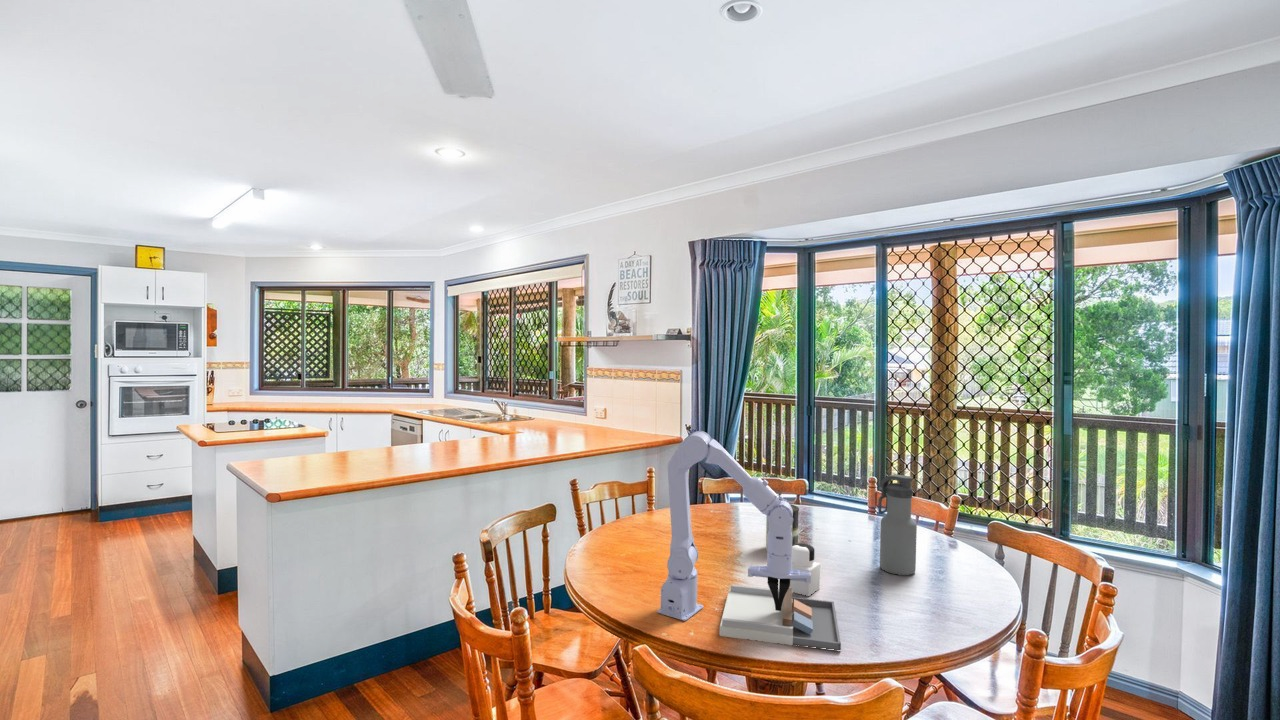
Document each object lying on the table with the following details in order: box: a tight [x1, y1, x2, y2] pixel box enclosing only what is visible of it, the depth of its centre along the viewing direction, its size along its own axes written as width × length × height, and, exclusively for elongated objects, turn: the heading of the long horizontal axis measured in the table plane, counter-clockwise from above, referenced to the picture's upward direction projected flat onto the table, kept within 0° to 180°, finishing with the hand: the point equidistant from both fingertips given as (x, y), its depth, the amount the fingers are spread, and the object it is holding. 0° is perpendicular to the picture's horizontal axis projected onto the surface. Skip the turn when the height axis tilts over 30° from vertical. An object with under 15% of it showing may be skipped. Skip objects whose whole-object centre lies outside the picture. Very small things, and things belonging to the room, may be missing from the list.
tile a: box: [792, 599, 812, 619], centre depth 144 cm, size 4×4×2 cm
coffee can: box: [765, 503, 800, 551], centre depth 193 cm, size 10×10×14 cm
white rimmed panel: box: [719, 583, 794, 646], centre depth 144 cm, size 16×22×4 cm
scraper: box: [783, 588, 792, 627], centre depth 142 cm, size 2×18×2 cm, turn 166°
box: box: [793, 596, 842, 650], centre depth 140 cm, size 10×22×2 cm, turn 166°
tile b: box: [792, 611, 813, 635], centre depth 138 cm, size 4×4×2 cm
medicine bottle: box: [789, 542, 821, 597], centre depth 162 cm, size 7×7×12 cm
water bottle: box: [877, 473, 918, 576], centre depth 177 cm, size 10×10×28 cm
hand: (778, 608), depth 142 cm, fingers closed
